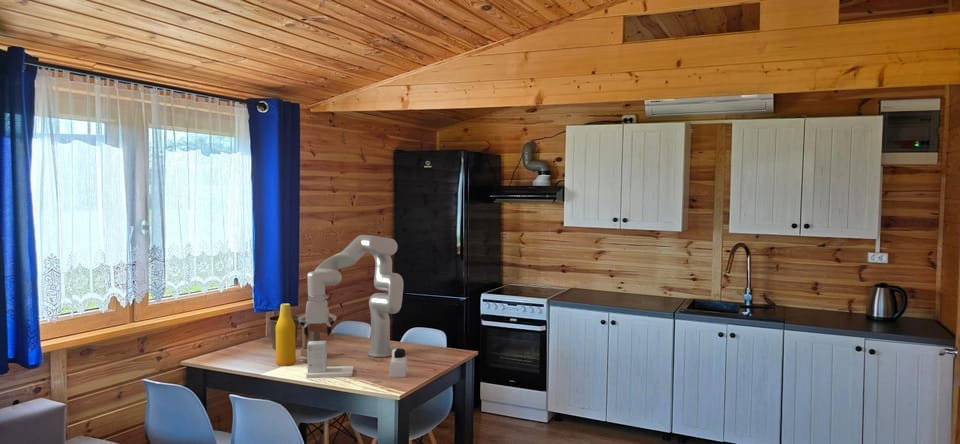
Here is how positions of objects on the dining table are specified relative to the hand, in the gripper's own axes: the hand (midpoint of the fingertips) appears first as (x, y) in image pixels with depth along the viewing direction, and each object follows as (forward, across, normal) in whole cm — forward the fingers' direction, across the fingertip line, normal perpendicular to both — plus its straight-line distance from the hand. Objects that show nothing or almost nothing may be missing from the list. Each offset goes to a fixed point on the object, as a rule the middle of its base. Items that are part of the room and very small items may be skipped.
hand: (317, 335), depth 296 cm
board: (+18, -5, +1) cm, 19 cm away
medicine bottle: (+19, -36, +7) cm, 41 cm away
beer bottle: (+18, +18, -18) cm, 31 cm away
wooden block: (+18, +8, -30) cm, 36 cm away
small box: (+16, +1, +1) cm, 16 cm away
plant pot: (+19, +24, -50) cm, 59 cm away
